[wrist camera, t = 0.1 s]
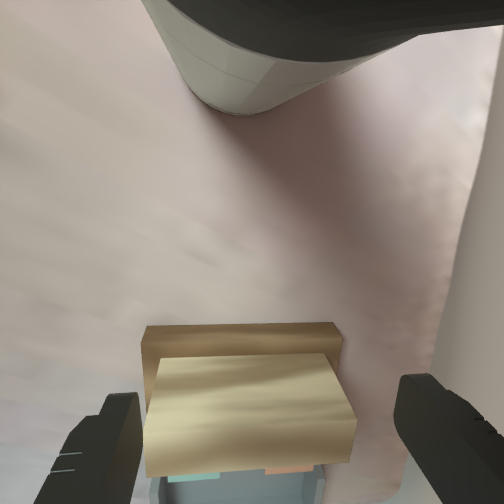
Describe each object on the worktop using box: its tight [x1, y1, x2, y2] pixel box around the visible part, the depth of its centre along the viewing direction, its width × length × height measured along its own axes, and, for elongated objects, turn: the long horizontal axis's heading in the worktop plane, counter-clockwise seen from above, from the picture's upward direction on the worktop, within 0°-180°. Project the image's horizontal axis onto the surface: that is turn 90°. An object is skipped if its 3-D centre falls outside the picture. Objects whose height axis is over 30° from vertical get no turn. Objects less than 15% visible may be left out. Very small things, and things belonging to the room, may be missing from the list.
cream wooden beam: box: [143, 353, 358, 478], centre depth 24 cm, size 4×14×7 cm, turn 87°
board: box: [141, 322, 343, 413], centre depth 30 cm, size 16×17×2 cm
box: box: [149, 464, 326, 504], centre depth 33 cm, size 8×17×4 cm, turn 87°
